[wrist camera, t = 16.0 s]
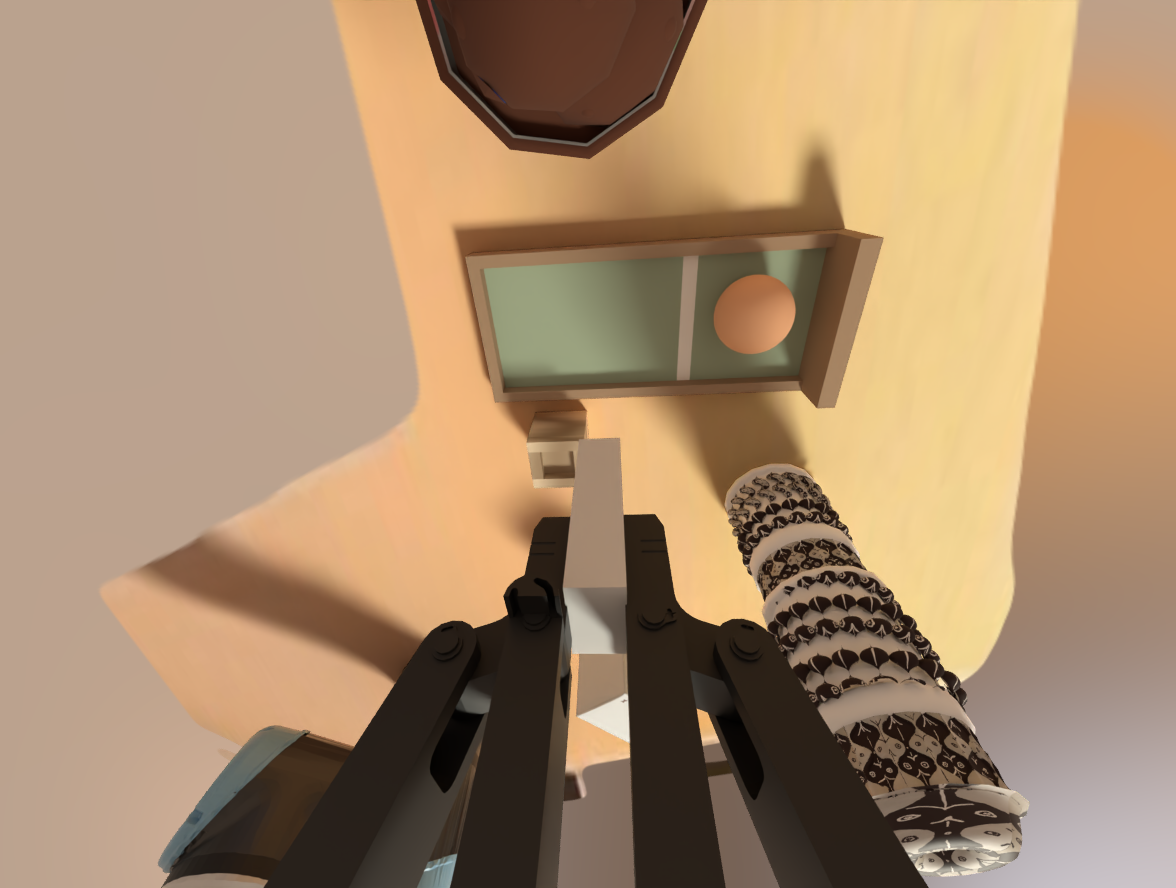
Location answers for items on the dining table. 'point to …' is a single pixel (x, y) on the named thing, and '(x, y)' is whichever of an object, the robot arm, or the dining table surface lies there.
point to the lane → (666, 316)
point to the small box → (604, 693)
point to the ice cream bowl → (560, 65)
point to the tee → (555, 447)
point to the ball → (754, 314)
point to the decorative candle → (873, 678)
